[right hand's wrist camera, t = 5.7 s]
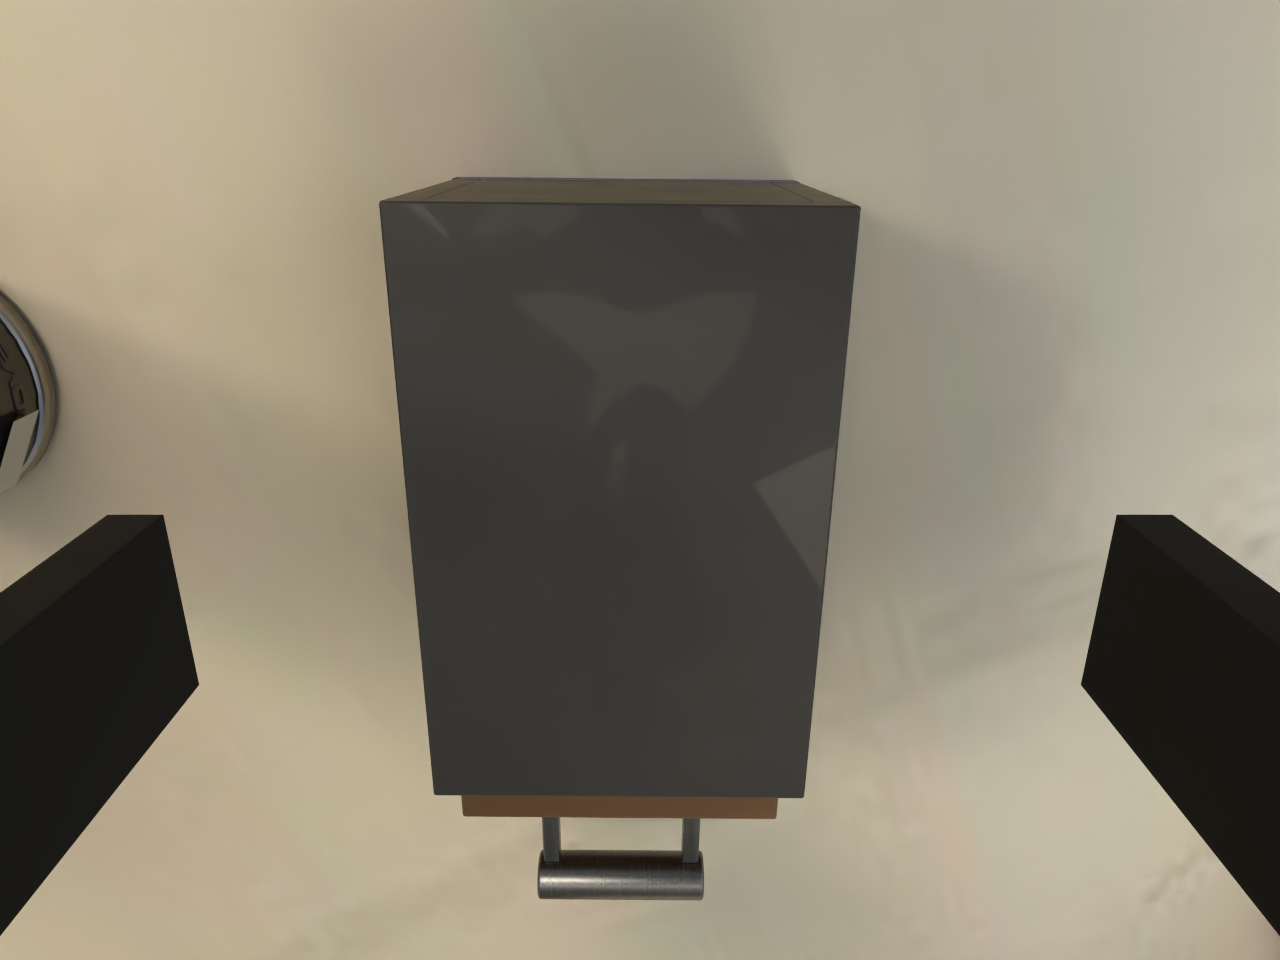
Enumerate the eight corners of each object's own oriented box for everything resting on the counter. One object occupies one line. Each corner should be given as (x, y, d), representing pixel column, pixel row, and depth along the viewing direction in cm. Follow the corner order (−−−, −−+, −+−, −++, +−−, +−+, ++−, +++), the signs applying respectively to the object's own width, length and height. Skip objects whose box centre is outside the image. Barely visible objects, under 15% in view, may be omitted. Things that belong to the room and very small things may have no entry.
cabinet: (763, 629, 37) (804, 799, 28) (485, 627, 37) (433, 796, 28) (794, 180, 30) (861, 205, 21) (457, 177, 30) (377, 200, 21)
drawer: (741, 799, 39) (765, 959, 31) (505, 796, 39) (473, 957, 31) (774, 273, 31) (818, 321, 23) (476, 269, 31) (422, 317, 23)
